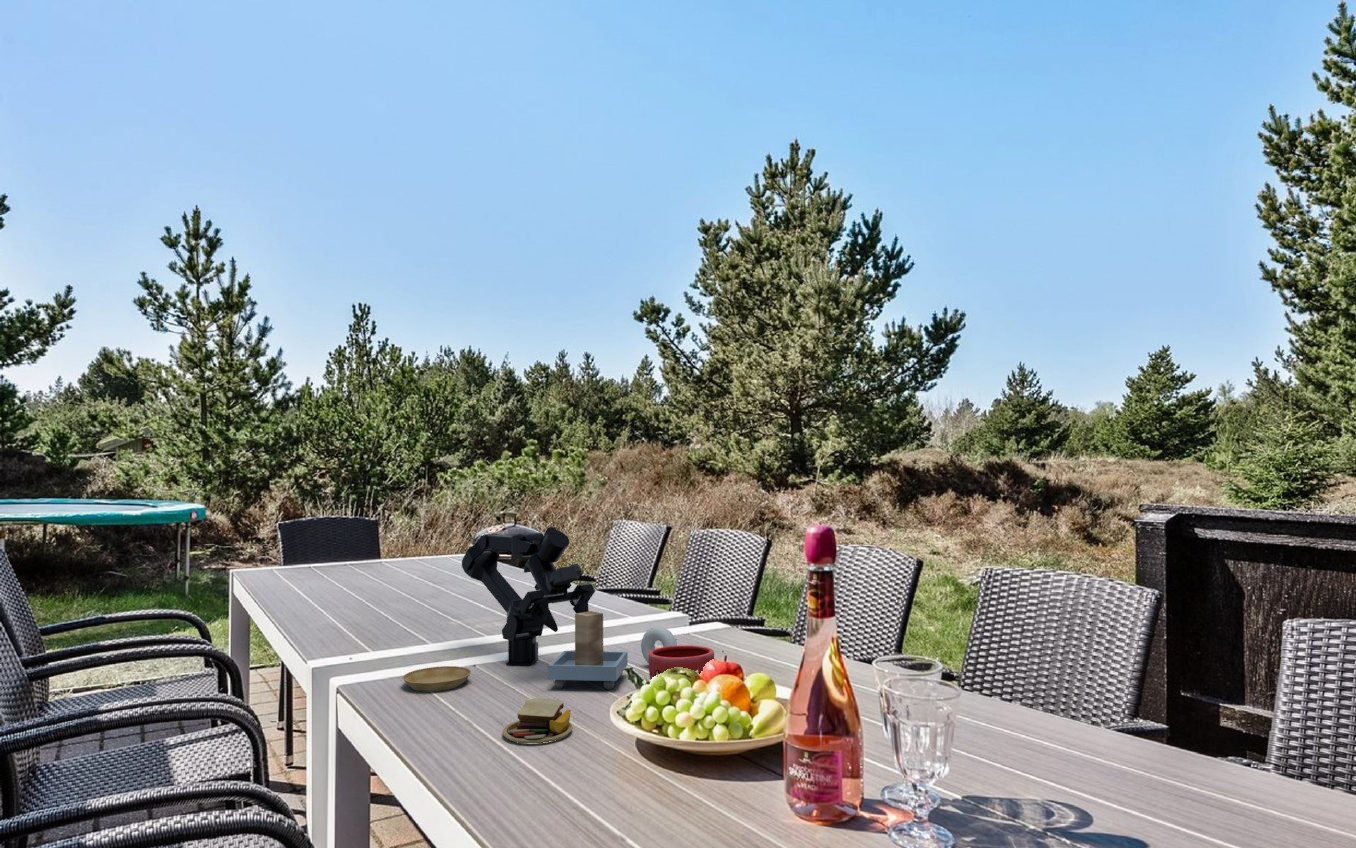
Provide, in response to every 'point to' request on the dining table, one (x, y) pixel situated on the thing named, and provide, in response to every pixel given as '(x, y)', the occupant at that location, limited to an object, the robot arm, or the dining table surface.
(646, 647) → the donut
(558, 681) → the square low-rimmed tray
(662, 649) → the plant pot
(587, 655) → the block
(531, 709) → the toy sandwich meal
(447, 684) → the plant saucer
